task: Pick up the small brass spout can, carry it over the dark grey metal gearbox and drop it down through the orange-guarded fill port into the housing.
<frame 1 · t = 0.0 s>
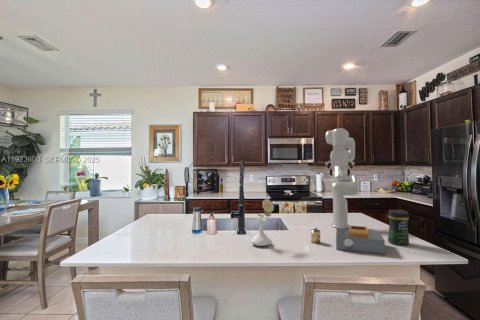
hand: (339, 175, 158), 37 cm above the counter, tool pointing down, fingers open, 9 cm apart
coffee jar: (398, 243, 141), on the counter
flower in vase: (262, 244, 141), on the counter
gearbox: (358, 246, 136), on the counter
brass can: (315, 242, 144), on the counter
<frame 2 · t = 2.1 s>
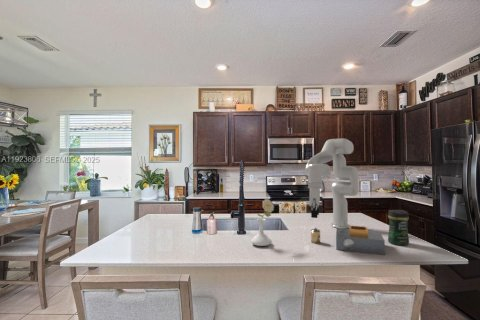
hand: (315, 216, 144), 15 cm above the counter, tool pointing down, fingers open, 9 cm apart
nothing on the counter moved.
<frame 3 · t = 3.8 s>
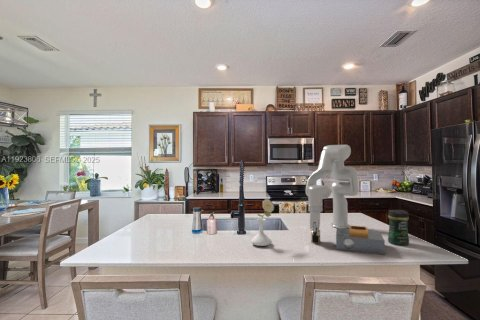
hand: (315, 240, 144), 1 cm above the counter, tool pointing down, fingers closed on brass can, 5 cm apart
brass can: (315, 242, 144), on the counter, touching gripper
everything else where it was.
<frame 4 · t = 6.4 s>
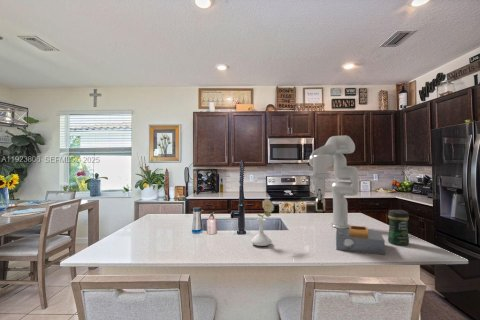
hand: (320, 208, 143), 19 cm above the counter, tool pointing down, fingers closed on brass can, 5 cm apart
brass can: (320, 210, 143), point 18 cm above the counter, touching gripper
everything else where it was.
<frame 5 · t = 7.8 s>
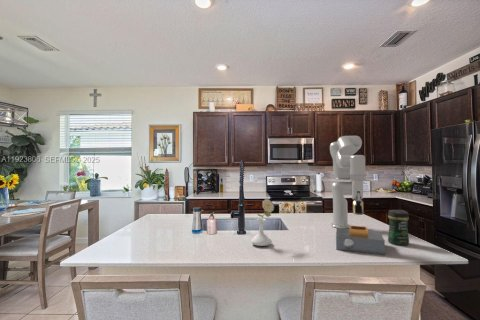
hand: (358, 211, 136), 19 cm above the counter, tool pointing down, fingers closed on brass can, 5 cm apart
brass can: (358, 213, 136), point 18 cm above the counter, touching gripper
everything else where it was.
when the fingers open (13 cm above the counter, at t = 9.0 s): brass can drops 11 cm, resting on gearbox.
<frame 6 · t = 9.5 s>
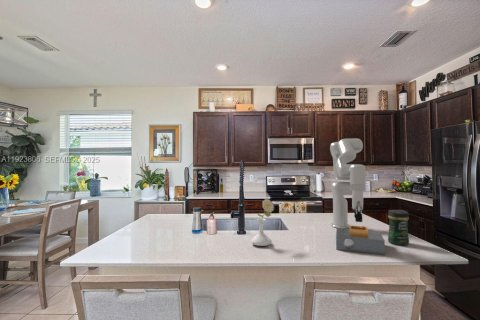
hand: (358, 219, 136), 14 cm above the counter, tool pointing down, fingers open, 9 cm apart
brass can: (358, 244, 136), point 1 cm above the counter, touching gearbox
everything else where it was.
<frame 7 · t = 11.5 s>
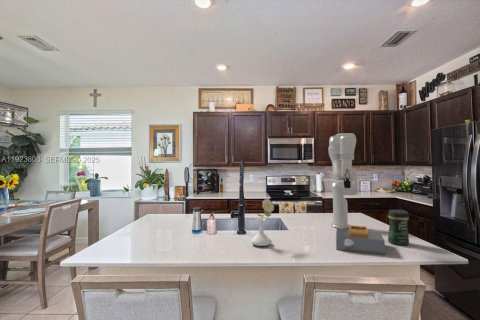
hand: (347, 186, 147), 31 cm above the counter, tool pointing down, fingers open, 9 cm apart
nothing on the counter moved.
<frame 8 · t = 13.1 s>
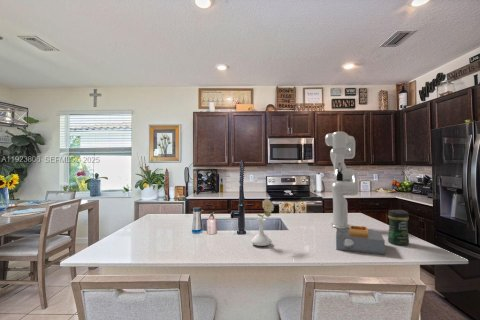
hand: (339, 180, 155), 34 cm above the counter, tool pointing down, fingers open, 9 cm apart
nothing on the counter moved.
at the end: brass can 0.3 cm off-centre on the gearbox, point 1.0 cm above the gearbox's base; the gripper is holding nothing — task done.
